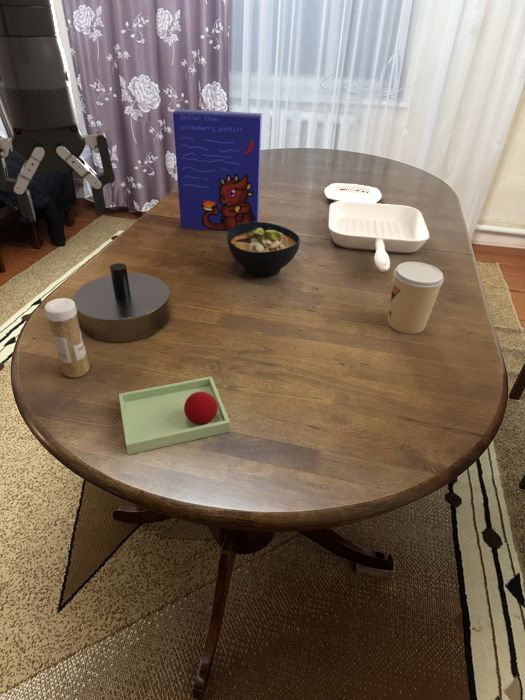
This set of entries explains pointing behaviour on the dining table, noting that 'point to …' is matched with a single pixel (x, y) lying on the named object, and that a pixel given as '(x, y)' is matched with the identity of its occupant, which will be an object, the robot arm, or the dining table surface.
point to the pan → (377, 228)
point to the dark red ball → (200, 408)
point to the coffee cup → (413, 296)
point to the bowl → (262, 247)
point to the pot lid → (121, 296)
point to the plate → (352, 193)
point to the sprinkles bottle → (67, 336)
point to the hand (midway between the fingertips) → (66, 216)
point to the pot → (126, 327)
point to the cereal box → (217, 167)
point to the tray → (167, 415)
